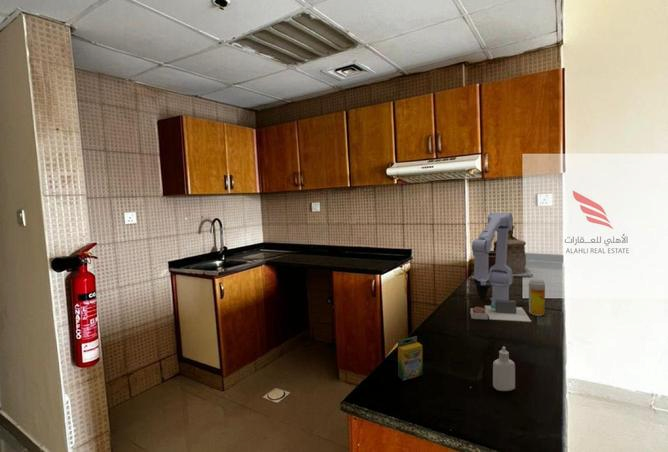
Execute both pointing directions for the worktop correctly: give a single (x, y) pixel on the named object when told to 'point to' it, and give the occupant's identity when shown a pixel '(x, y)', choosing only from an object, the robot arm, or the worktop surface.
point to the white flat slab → (508, 315)
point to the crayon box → (409, 359)
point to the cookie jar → (516, 256)
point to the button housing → (479, 314)
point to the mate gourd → (491, 263)
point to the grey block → (504, 306)
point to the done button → (478, 310)
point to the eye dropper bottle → (503, 372)
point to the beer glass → (536, 297)
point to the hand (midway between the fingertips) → (481, 297)
